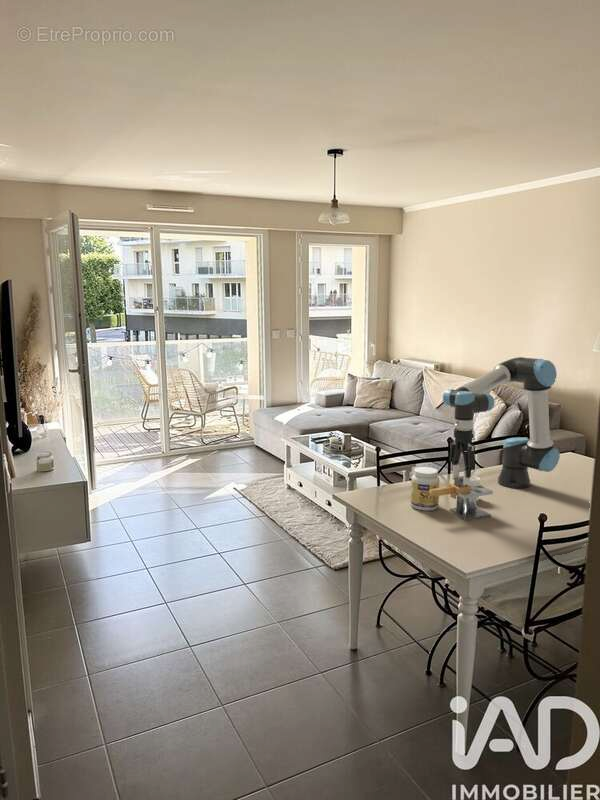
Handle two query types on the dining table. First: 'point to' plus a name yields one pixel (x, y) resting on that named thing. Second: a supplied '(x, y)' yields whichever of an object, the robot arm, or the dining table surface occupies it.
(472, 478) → the cup
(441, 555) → the dining table surface
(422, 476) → the supplement tub
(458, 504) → the wedge pin
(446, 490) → the wooden handled frame
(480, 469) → the dining table surface
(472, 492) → the ball joint plate
